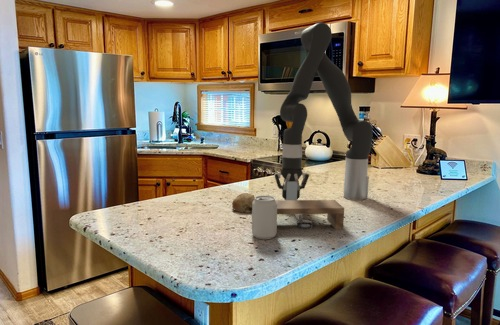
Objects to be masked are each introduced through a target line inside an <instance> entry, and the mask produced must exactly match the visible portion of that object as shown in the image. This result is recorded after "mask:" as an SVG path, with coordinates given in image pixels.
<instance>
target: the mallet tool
mask: <svg viewBox="0 0 500 325" xmlns="http://www.w3.org/2000/svg"><path fill="white" fill-rule="evenodd" d="M286 200H298V199H297V182H295V181H289V182H287V188H286ZM294 216H295V218H296V219H297V221H298V220H303V214H294Z"/></svg>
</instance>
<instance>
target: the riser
mask: <svg viewBox="0 0 500 325" xmlns="http://www.w3.org/2000/svg"><path fill="white" fill-rule="evenodd" d="M275 201H276V202H277V215H295V214H302V215H322V214H323V215H327V216H326V217H327V218H326V219H327V220H326V221H328V222H329V223H330V224H331V226H333V228H334V229H335V230H344V223H345V222H344V219H345V207H343V206H342V204H340V203H339V202H338V201H336V199H301V200H300V199H297V200H284V199H281V200H277V199H275Z"/></svg>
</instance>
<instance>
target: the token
mask: <svg viewBox="0 0 500 325" xmlns="http://www.w3.org/2000/svg"><path fill="white" fill-rule="evenodd" d="M312 227H313V222H312V221H311V220H309V219H302V220H298V219H297V220H296V228H298V229H299V230H311V229H312Z"/></svg>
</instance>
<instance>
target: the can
mask: <svg viewBox="0 0 500 325" xmlns="http://www.w3.org/2000/svg"><path fill="white" fill-rule="evenodd" d="M254 197H255V198H254V199H255V200H254V201H253V202H252V212H251V234H252V236H254V238H256V239H259V240H270V239H273V238H275V236H276V235H277V234H278V233H277V230H278V228H277V226H278V214H277V202H276V201H275V200H276V197H275V196H272V195H264V194H263V195H256V196H254Z"/></svg>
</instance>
